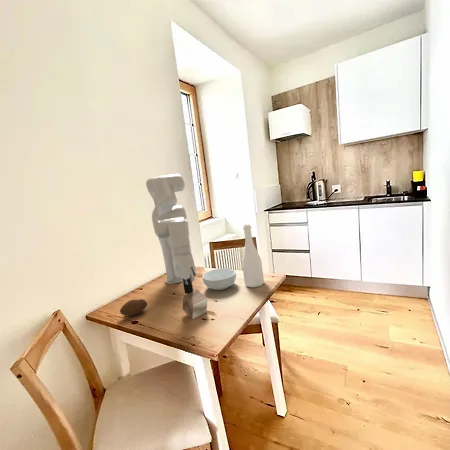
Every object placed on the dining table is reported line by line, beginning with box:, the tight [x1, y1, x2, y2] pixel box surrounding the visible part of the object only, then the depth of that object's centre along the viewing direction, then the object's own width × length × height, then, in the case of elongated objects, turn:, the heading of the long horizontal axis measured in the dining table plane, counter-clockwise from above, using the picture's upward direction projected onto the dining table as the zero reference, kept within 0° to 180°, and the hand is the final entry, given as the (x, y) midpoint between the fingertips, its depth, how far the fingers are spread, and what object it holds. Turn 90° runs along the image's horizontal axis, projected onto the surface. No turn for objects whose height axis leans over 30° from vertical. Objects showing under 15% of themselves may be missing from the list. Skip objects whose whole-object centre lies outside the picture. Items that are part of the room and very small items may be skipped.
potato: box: [119, 298, 148, 317], centre depth 113 cm, size 7×12×7 cm, turn 131°
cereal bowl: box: [202, 267, 237, 291], centre depth 130 cm, size 17×17×7 cm
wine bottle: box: [241, 223, 265, 288], centre depth 125 cm, size 10×10×30 cm
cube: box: [182, 289, 208, 320], centre depth 105 cm, size 7×7×7 cm
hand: (189, 292), depth 106 cm, fingers closed
